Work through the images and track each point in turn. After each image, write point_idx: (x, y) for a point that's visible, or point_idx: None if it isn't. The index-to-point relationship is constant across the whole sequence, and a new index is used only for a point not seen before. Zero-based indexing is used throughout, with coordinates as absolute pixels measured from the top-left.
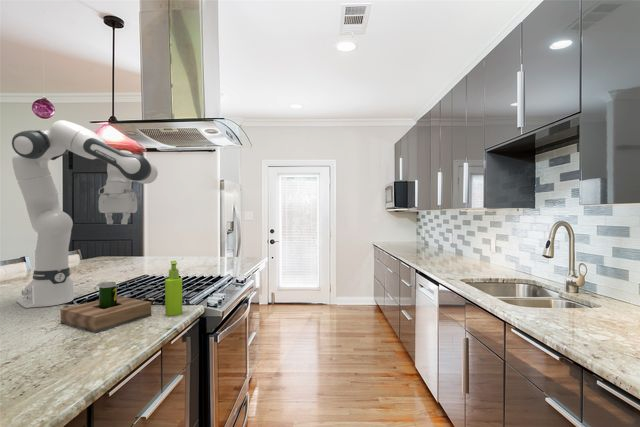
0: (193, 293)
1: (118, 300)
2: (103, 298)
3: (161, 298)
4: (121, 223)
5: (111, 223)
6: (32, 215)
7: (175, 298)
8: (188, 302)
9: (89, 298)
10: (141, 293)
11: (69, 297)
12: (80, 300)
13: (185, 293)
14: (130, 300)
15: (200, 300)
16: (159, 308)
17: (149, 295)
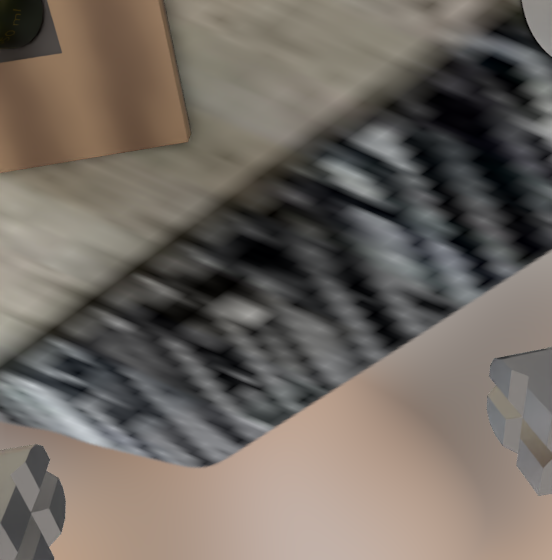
0: (177, 458)
1: (65, 94)
2: None
3: (207, 340)
4: (16, 449)
5: (493, 403)
6: None
7: None
8: (36, 378)
9: (513, 129)
10: (379, 326)
11: (550, 28)
12: (515, 82)
13: (206, 439)
14: (13, 136)
15: (30, 423)
16: (31, 255)
17: (309, 332)
